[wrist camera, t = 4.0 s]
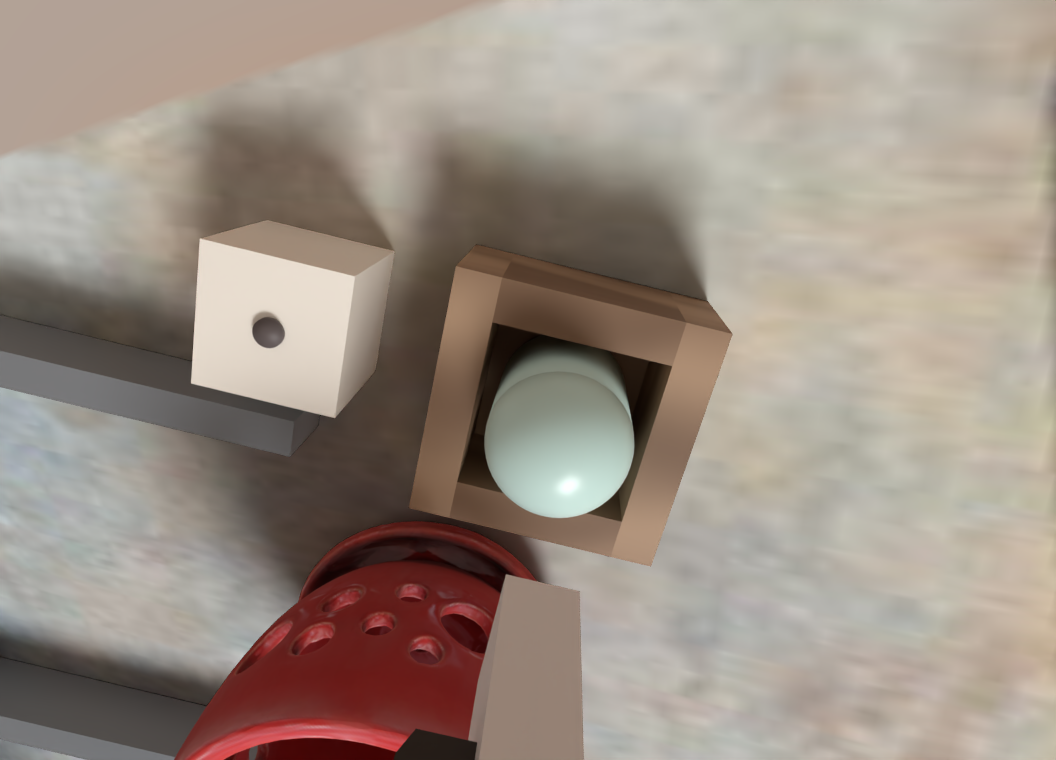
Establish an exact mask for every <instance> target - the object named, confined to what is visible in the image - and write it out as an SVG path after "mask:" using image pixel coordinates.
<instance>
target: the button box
mask: <svg viewBox="0 0 1056 760" xmlns="http://www.w3.org/2000/svg"><path fill="white" fill-rule="evenodd" d="M541 335H547V336H551V337H555V338H559V339H563V340H567V341H571V342H575V343H579V344H583V345H588V346H592V347H596V348H600V349H604V350H608V351H609V352H610V353H611V354H612V355H613V356H614V358H615V359H616V361H617V362H618V364H619V366H620V368H621V370H622V373H623V376H624V381H625V386H626V392H627V397H628V403H629V409H630V414H631V420H632V425H633V431H634V455H633V459H632V464H631V467H630V470H629V472H628V475H627V477H626V478H625V480H624V482H623V484H622V485H621V486H620V488H619V489H618V490H617V492H616V493H615V494H614V495H613V496H612V497H611V498H610V499H609V500H608V501H606V502H605V503H604V504H602V505H601V506H599V507H597V508H596V509H594V510H592V511H590V512H588V513H585V514H582V515H579V516H575V517H569V518H551V517H545V516H540V515H537V514H534V513H532V512H529V511H527V510H525V509H523V508H522V507H520V506H518V505H517V504H516V503H514V502H513V501H512V500H510V499H509V498H508V497H507V496H506V495H505V494H504V493H503V492H502V490H501V489H500V488H499V487H498V485H497V483H496V482H495V480H494V478H493V477H492V474H491V472H490V470H489V468H488V464H487V460H486V455H485V448H484V437H485V430H486V424H487V421H488V418H489V414H490V411H491V408H492V405H493V402H494V399H495V396H496V393H497V390H498V387H499V384H500V381H501V377H502V374H503V371H504V369H505V367H506V365H507V363H508V361H509V360H510V358H511V356H512V355H513V354H514V353H515V352H516V351H517V350H518V349H519V348H520V347H521V346H522V345H524V344H525V343H527V342H528V341H530V340H532V339H534V338H536V337H538V336H541ZM731 337H732V332H731V331H730V330H729V329H728V327H727V326H726V325H725V323H724V322H723V321H722V319H721V318H720V317H719V315H718V314H717V313H716V311H715V310H714V309H713V307H712V306H711V305H710V304H709V302H708V301H705V300H701V299H697V298H692V297H688V296H684V295H680V294H676V293H672V292H668V291H664V290H660V289H656V288H652V287H648V286H644V285H639V284H635V283H631V282H627V281H623V280H619V279H615V278H611V277H607V276H603V275H599V274H595V273H591V272H586V271H582V270H578V269H574V268H570V267H566V266H562V265H558V264H554V263H550V262H546V261H542V260H538V259H533V258H529V257H525V256H521V255H517V254H513V253H509V252H505V251H501V250H497V249H493V248H489V247H485V246H480V245H475V246H474V247H473V249H472V250H471V251H470V252H469V253H468V254H467V255H466V256H465V257H464V258H463V259H462V260H461V261H460V262H459V263H458V264H457V265H456V268H455V273H454V278H453V283H452V288H451V293H450V299H449V304H448V309H447V314H446V319H445V324H444V329H443V334H442V340H441V345H440V350H439V355H438V360H437V365H436V370H435V375H434V381H433V386H432V391H431V396H430V401H429V406H428V411H427V416H426V422H425V427H424V432H423V437H422V442H421V447H420V452H419V457H418V463H417V468H416V473H415V478H414V483H413V488H412V493H411V498H410V504H409V508H411V509H415V510H419V511H423V512H427V513H431V514H435V515H440V516H444V517H448V518H452V519H456V520H460V521H464V522H469V523H473V524H477V525H481V526H485V527H489V528H493V529H498V530H502V531H506V532H510V533H514V534H518V535H523V536H527V537H531V538H535V539H539V540H543V541H547V542H552V543H556V544H560V545H564V546H568V547H572V548H576V549H581V550H585V551H589V552H593V553H597V554H601V555H605V556H610V557H614V558H618V559H622V560H626V561H630V562H635V563H639V564H643V565H647V566H651V565H652V562H653V559H654V556H655V553H656V550H657V547H658V545H659V542H660V539H661V536H662V533H663V530H664V528H665V525H666V522H667V519H668V516H669V513H670V510H671V508H672V505H673V502H674V499H675V496H676V493H677V491H678V488H679V485H680V482H681V479H682V476H683V474H684V471H685V468H686V465H687V462H688V459H689V456H690V454H691V451H692V448H693V445H694V442H695V439H696V437H697V434H698V431H699V428H700V425H701V422H702V419H703V417H704V414H705V411H706V408H707V405H708V402H709V400H710V397H711V394H712V391H713V388H714V385H715V383H716V380H717V377H718V374H719V371H720V368H721V365H722V363H723V360H724V357H725V354H726V351H727V348H728V346H729V343H730V340H731Z"/></svg>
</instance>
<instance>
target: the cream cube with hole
mask: <svg viewBox="0 0 1056 760" xmlns="http://www.w3.org/2000/svg"><path fill="white" fill-rule="evenodd" d="M394 254H395V251H392V250H388V249H384V248H380V247H376V246H372V245H368V244H364V243H359V242H355V241H351V240H347V239H343V238H339V237H335V236H331V235H327V234H323V233H319V232H315V231H310V230H306V229H302V228H298V227H294V226H290V225H286V224H282V223H278V222H274V221H270V220H265V221H261V222H258V223H254V224H251V225H247V226H243V227H240V228H236V229H232V230H229V231H225V232H222V233H218V234H214V235H211V236H207V237H203V238H200V243H199V260H198V276H197V293H196V309H195V326H194V342H193V359H192V375H191V384H196V385H200V386H204V387H208V388H212V389H216V390H220V391H224V392H229V393H233V394H237V395H241V396H245V397H249V398H253V399H258V400H262V401H266V402H270V403H274V404H278V405H282V406H286V407H291V408H295V409H299V410H303V411H307V412H311V413H315V414H320V415H324V416H328V417H332V418H335V417H336V416H337V415H338V414H339V413H340V412H341V410H342V409H343V408H344V407H345V406H346V405H347V403H348V402H349V401H350V400H351V399H352V398H353V396H354V395H355V394H356V393H357V392H358V391H359V390H360V388H361V387H362V386H363V385H364V384H365V383H366V381H367V380H368V379H369V378H370V377H371V376H372V374H373V373H374V372H375V371H376V365H377V359H378V352H379V346H380V340H381V334H382V328H383V322H384V315H385V309H386V303H387V297H388V291H389V284H390V278H391V272H392V266H393V260H394Z"/></svg>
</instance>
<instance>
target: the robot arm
mask: <svg viewBox="0 0 1056 760" xmlns="http://www.w3.org/2000/svg"><path fill="white" fill-rule="evenodd" d="M393 760H584V750H583V710H582V670H581V630H580V591H576V590H572V589H567V588H563V587H559V586H554V585H550V584H546V583H541V582H537V581H533V580H528V579H524V578H520V577H515V576H511V575H507V574H506V576H505V580H504V584H503V587H502V591H501V595H500V599H499V603H498V606H497V610H496V614H495V618H494V622H493V625H492V629H491V633H490V637H489V641H488V644H487V648H486V652H485V656H484V660H483V664H482V667H481V671H480V675H479V679H478V684H477V690H476V696H475V701H474V707H473V713H472V719H471V725H470V731H469V737H468V740H465V739H460V738H456V737H452V736H447V735H443V734H438V733H434V732H429V731H425V730H421V729H415V730H414V731H413V733H412V734H411V735H410V736H409V737H408V739H407V740H406V741H405V742H404V743H403V745H402V746H401V747H400V748H399V749H398V751H397V752H396V753H395V756H394V759H393Z"/></svg>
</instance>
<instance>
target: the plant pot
mask: <svg viewBox="0 0 1056 760" xmlns="http://www.w3.org/2000/svg"><path fill="white" fill-rule="evenodd" d="M506 574H507V575H511V576H515V577H520V578H524V579H528V580H533V581H537V580H536V579H535V578H534V577H533V575H532V574H531V573H530V572H529V571H528V570H527V569H526V568H525V566H524V565H523V564H522V563H521V562H520V561H518V560H517V559H516V558H515V557H514V556H513V555H512V554H511V553H509V552H508V551H507V550H505V549H504V548H503V547H501V546H500V545H498V544H497V543H495V542H493V541H491V540H489V539H487V538H486V537H484V536H483V535H480V534H478V533H476V532H473V531H470V530H467V529H464V528H461V527H457V526H452V525H447V524H442V523H435V522H423V521H410V522H397V523H390V524H386V525H380V526H377V527H373V528H370V529H367V530H364V531H361V532H359V533H357V534H354V535H353V536H351V537H349V538H347V539H345V540H344V541H342V542H340V543H339V544H337V545H336V546H335V547H333V548H332V549H331V550H330V551H329V552H328V553H327V554H326V555H325V556H324V557H323V558H322V559H321V560H320V561H319V562H318V564H317V565H316V566H315V567H314V569H313V570H312V571H311V573H310V575H309V576H308V578H307V580H306V582H305V584H304V586H303V588H302V591H301V594H300V597H299V601H298V603H296V604H295V605H294V606H293V607H291V608H290V609H289V610H288V611H287V612H286V613H284V614H283V615H282V616H281V617H280V618H279V619H278V620H277V621H276V622H275V623H274V624H273V625H272V626H271V627H270V628H269V629H268V630H267V631H266V632H265V633H264V634H263V635H262V636H261V637H260V638H259V639H258V640H257V641H256V642H255V644H254V645H253V646H252V647H251V648H250V650H249V651H248V652H247V653H246V654H245V655H244V657H243V658H242V659H241V660H240V662H239V663H238V664H237V665H236V667H235V668H234V669H233V670H232V671H231V673H230V674H229V675H228V677H227V678H226V680H225V681H224V682H223V684H222V685H221V687H220V688H219V689H218V691H217V692H216V694H215V695H214V697H213V698H212V699H211V701H210V702H209V704H208V705H207V707H206V708H205V710H204V711H203V713H202V714H201V716H200V717H199V719H198V721H197V722H196V724H195V725H194V727H193V728H192V730H191V732H190V733H189V735H188V736H187V738H186V740H185V742H184V743H183V745H182V747H181V748H180V750H179V752H178V753H177V755H176V757H175V759H174V760H249V751H250V748H251V747H254V746H257V745H258V748H257V754H256V758H255V760H393V759H394V756H395V753H396V752H397V751H398V749H399V748H400V747H401V746H402V745H403V743H404V742H405V741H406V740H407V739H408V737H409V736H410V735H411V734H412V733H413V731H414V730H415V729H421V730H425V731H429V732H434V733H438V734H443V735H447V736H452V737H456V738H460V739H465V740H468V737H469V731H470V725H471V719H472V713H473V707H474V701H475V696H476V690H477V684H478V679H479V675H480V671H481V667H482V664H483V660H484V656H485V652H486V648H487V644H488V641H489V637H490V633H491V629H492V625H493V622H494V618H495V614H496V610H497V606H498V603H499V599H500V595H501V591H502V587H503V584H504V580H505V576H506Z"/></svg>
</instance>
